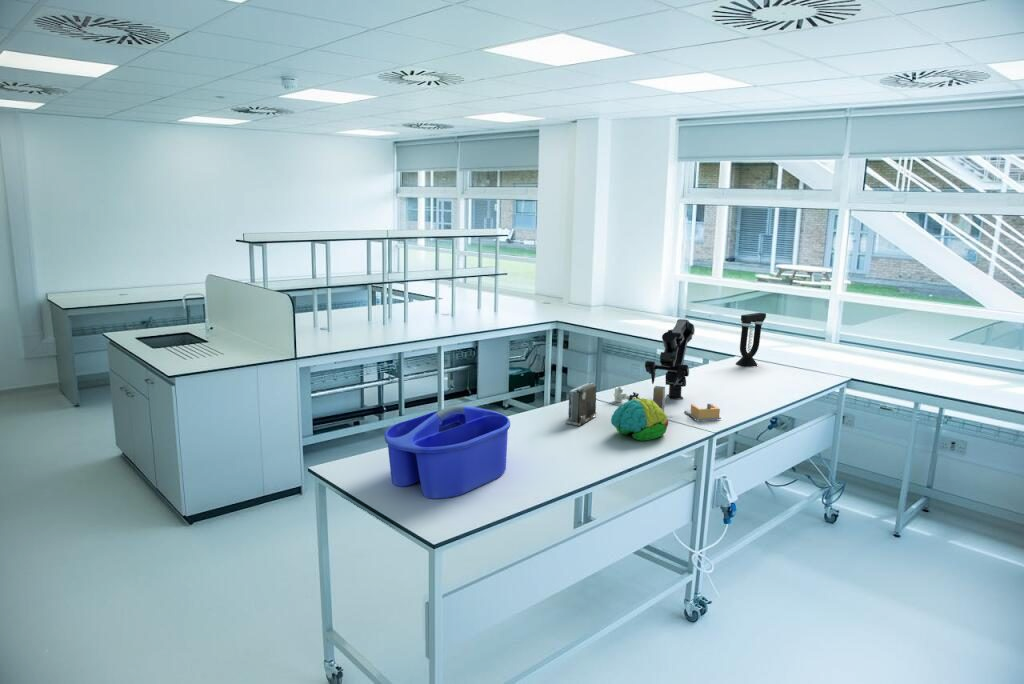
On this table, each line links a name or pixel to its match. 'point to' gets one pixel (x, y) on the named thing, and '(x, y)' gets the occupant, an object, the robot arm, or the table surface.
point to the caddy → (448, 450)
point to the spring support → (746, 321)
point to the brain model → (640, 419)
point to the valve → (623, 395)
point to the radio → (582, 404)
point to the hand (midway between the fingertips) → (663, 384)
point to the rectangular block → (659, 396)
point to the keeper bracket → (704, 412)
